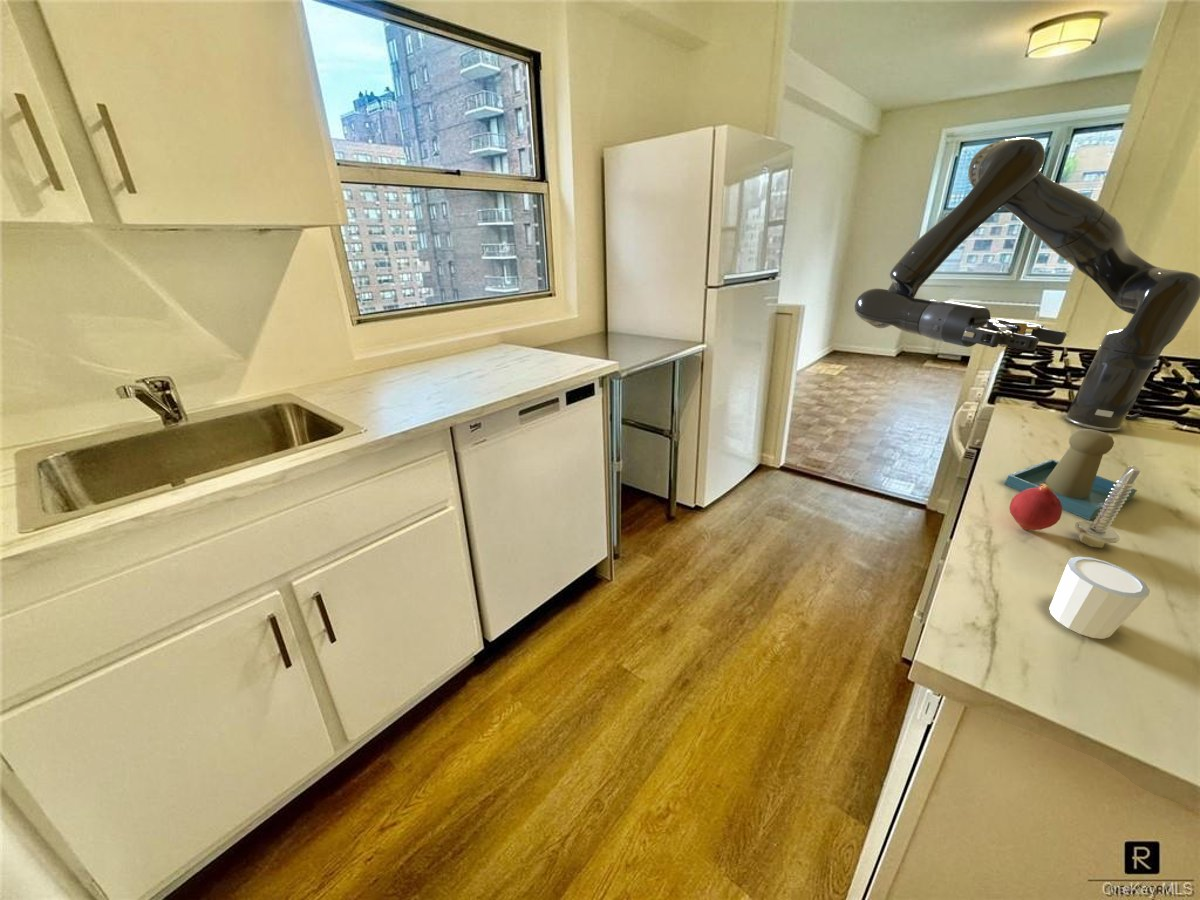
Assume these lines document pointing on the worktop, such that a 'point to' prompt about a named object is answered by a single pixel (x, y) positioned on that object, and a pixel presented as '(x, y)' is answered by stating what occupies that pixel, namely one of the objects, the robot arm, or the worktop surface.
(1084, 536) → the screw
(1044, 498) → the onion
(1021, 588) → the worktop surface
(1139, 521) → the worktop surface
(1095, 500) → the tray
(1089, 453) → the cork
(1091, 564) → the white faceted cylinder
